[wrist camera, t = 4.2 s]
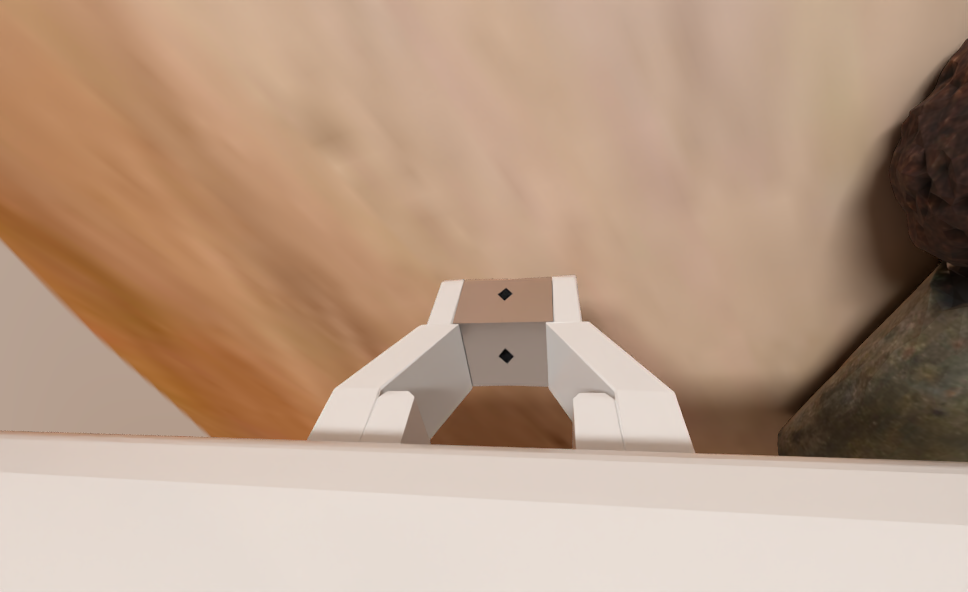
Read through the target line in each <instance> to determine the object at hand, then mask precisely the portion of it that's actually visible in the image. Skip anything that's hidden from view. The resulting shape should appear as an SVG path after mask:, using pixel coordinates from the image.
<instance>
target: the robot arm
mask: <svg viewBox="0 0 968 592" xmlns="http://www.w3.org/2000/svg"><path fill="white" fill-rule="evenodd" d="M508 385H510V386H541V387H549V390H550V391H551V392H552V394H553V395H554V397H555V398H556V399H557V401H558V402H559V404H560V405H561V407H562V408H563V409H564V411H565V412H566V414H567V415H568V416H569V418H570V419H571V421H572V422H573V427H572V449H554V448H524V447H493V446H462V445H432V444H431V442H430V439H431V438H432V437H433V436H434V434H435V433H436V432H437V431H438V429H439V428H440V427H441V426H442V425H443V423H444V422H445V421H446V420H447V419H448V417H449V416H450V415H451V414H452V413H453V411H454V410H455V409H456V408H457V406H458V405H459V404H460V403H461V402H462V400H463V399H464V398H465V397H466V396H467V394H468V393H469V392H470V391H471V390H472V386H508ZM0 592H968V462H950V461H919V460H889V459H858V458H827V457H797V456H767V455H737V454H706V453H695V451H694V448H693V445H692V442H691V439H690V436H689V433H688V430H687V427H686V425H685V422H684V419H683V416H682V413H681V410H680V407H679V404H678V401H677V398H676V395H675V392H674V391H672V390H671V389H670V388H669V387H668V386H666V385H665V384H664V383H663V382H661V381H660V380H659V379H658V378H657V377H655V376H654V375H653V374H652V373H651V372H649V371H648V370H647V369H646V368H645V367H643V366H642V365H641V364H640V363H639V362H637V361H636V360H635V359H634V358H633V357H631V356H630V355H629V354H628V353H626V352H625V351H624V350H623V349H622V348H620V347H619V346H618V345H617V344H616V343H614V342H613V341H612V340H611V339H610V338H608V337H607V336H606V335H605V334H604V333H602V332H601V331H600V330H599V329H598V328H596V327H595V326H594V325H593V324H591V323H590V322H582V317H581V309H580V302H579V294H578V286H577V279H576V276H575V275H565V276H552V277H540V278H523V279H468V280H464V279H463V280H445V281H443V282H442V283H441V286H440V289H439V291H438V294H437V297H436V300H435V303H434V306H433V308H432V311H431V314H430V317H429V320H428V323H427V325H420V326H418V327H417V328H416V329H414V330H413V331H412V332H410V333H409V334H408V335H406V336H405V337H404V338H402V339H401V340H400V341H398V342H397V343H395V344H394V345H393V346H391V347H390V348H389V349H387V350H386V351H385V352H383V353H382V354H381V355H379V356H378V357H377V358H375V359H374V360H373V361H371V362H370V363H368V364H367V365H366V366H364V367H363V368H362V369H360V370H359V371H358V372H356V373H355V374H354V375H352V376H351V377H350V378H348V379H347V380H345V381H344V382H343V383H341V384H340V385H339V386H337V387H336V388H335V389H334V390H333V392H332V394H331V396H330V398H329V400H328V402H327V403H326V405H325V407H324V409H323V411H322V413H321V415H320V417H319V418H318V420H317V422H316V424H315V426H314V428H313V430H312V432H311V433H310V435H309V437H308V439H307V440H278V439H248V438H217V437H186V436H154V435H125V434H124V435H123V434H93V433H63V432H60V433H59V432H32V431H0Z"/></svg>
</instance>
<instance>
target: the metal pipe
mask: <svg viewBox="0 0 968 592" xmlns="http://www.w3.org/2000/svg"><path fill="white" fill-rule="evenodd" d="M889 175H890V181H891V185H892V188H893V191H894V195H895V198H896V200H897V201H898V202H899V204H900V205H901V207H902V208H903V210H904V211H905V212H906V214H907V221H908V230H909V237H910V239H911V240H912V242H913V244H914V246H916V247H918V248H920V249H922V250H924V251H926V252H928V253H930V254H932V255H933V256H935V257H937V258H939V259H941V260H942V262H941V263H940V265H939V266H938V267H937V268H936V269H935V270H934V271H933V272H932V273H931V274H930V275H929V276H928V277H927V278H926V279H925V280H924V281H923V283H922V284H921V285H920V286H919V287H918V288H917V289H916V290H915V291H914V292H913V293H912V294H911V295H910V296H909V297H908V298H907V299H906V300H905V301H904V302H903V303H902V304H901V305H900V306H899V307H898V308H897V309H896V310H895V311H894V312H893V313H892V314H891V315H890V316H889V317H888V318H887V319H886V320H885V321H884V322H883V323H882V324H881V325H880V326H879V327H878V328H877V329H876V330H875V331H874V332H873V333H872V334H871V335H870V336H869V337H868V338H867V339H866V340H865V341H864V342H863V343H862V344H861V345H860V346H859V347H858V348H857V349H856V351H855V352H854V353H853V354H852V355H851V356H850V357H849V358H848V359H847V360H846V361H845V363H844V364H843V365H842V366H841V367H840V368H839V369H838V371H837V372H836V373H835V374H834V375H833V376H832V377H831V378H830V379H829V380H828V381H827V382H826V383H825V384H824V385H823V386H822V387H821V388H820V389H819V390H818V391H817V392H816V393H815V394H814V395H813V396H812V397H811V398H810V399H809V400H808V401H807V402H806V403H805V404H804V405H803V406H802V407H801V408H800V409H799V410H798V412H797V413H796V414H795V415H794V416H793V417H792V418H791V419H790V420H789V421H788V422H787V423H786V425H785V426H784V427H783V428H782V430H781V431H780V432H779V434H778V454H779V456H797V457H827V458H858V459H889V460H919V461H950V462H968V39H967V40H966V41H965V42H964V44H963V45H962V46H961V48H960V49H959V50H958V52H956V53H955V54H954V55H953V56H952V57H951V59H950V60H949V62H948V63H947V65H946V66H945V68H944V69H943V71H942V72H941V74H940V77H939V79H938V82H937V85H936V87H935V89H934V90H933V91H932V93H931V94H930V95H929V96H928V97H927V98H926V99H925V100H924V101H923V102H922V103H920V104H919V105H918V106H916V107H915V108H914V109H912V110H911V111H910V115H909V117H908V118H907V119H906V120H905V121H904V123H903V124H902V136H901V138H900V140H899V142H898V144H897V146H896V148H895V151H894V153H893V157H892V161H891V164H890V168H889Z"/></svg>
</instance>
